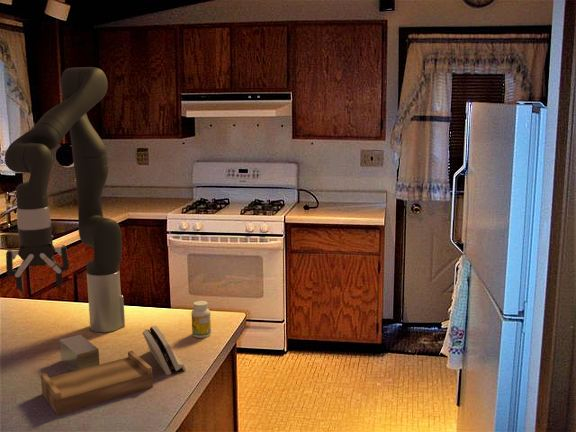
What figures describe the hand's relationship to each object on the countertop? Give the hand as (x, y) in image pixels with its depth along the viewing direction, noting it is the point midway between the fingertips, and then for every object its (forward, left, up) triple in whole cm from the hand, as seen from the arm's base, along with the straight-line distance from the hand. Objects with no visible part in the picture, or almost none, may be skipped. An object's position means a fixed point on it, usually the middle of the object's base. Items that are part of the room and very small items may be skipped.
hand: (40, 288), depth 153 cm
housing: (-7, +5, -21) cm, 22 cm away
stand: (-6, +21, -20) cm, 30 cm away
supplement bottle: (-42, +5, -21) cm, 47 cm away
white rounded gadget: (-25, +16, -21) cm, 36 cm away
